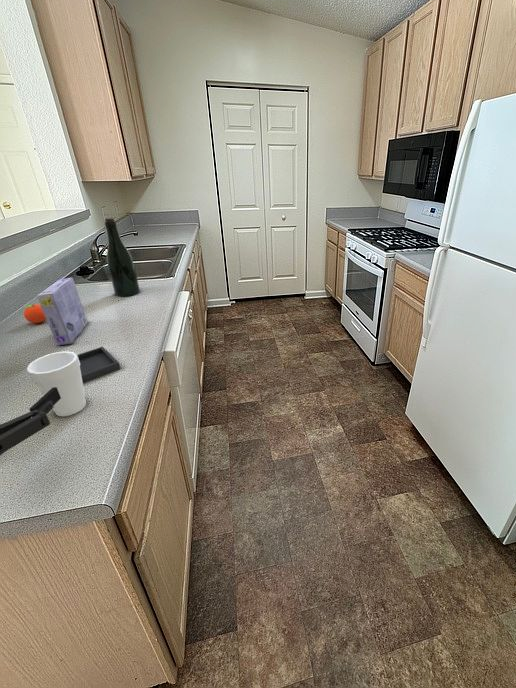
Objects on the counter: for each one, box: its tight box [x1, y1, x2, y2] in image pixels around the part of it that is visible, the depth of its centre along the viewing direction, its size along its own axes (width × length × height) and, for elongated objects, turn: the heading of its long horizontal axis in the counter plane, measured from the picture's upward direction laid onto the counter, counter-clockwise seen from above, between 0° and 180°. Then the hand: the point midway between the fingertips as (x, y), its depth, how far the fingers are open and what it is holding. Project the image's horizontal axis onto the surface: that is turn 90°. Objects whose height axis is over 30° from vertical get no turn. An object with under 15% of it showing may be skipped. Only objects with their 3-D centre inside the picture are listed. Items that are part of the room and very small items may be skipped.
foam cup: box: [26, 350, 87, 417], centre depth 77 cm, size 10×9×13 cm
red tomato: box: [20, 304, 47, 324], centre depth 123 cm, size 8×7×7 cm
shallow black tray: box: [76, 346, 121, 384], centre depth 95 cm, size 14×14×2 cm
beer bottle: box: [104, 217, 141, 297], centre depth 145 cm, size 10×10×33 cm
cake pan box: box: [36, 277, 89, 346], centre depth 112 cm, size 19×5×18 cm, turn 14°
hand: (23, 393), depth 66 cm, fingers open, 13 cm apart
